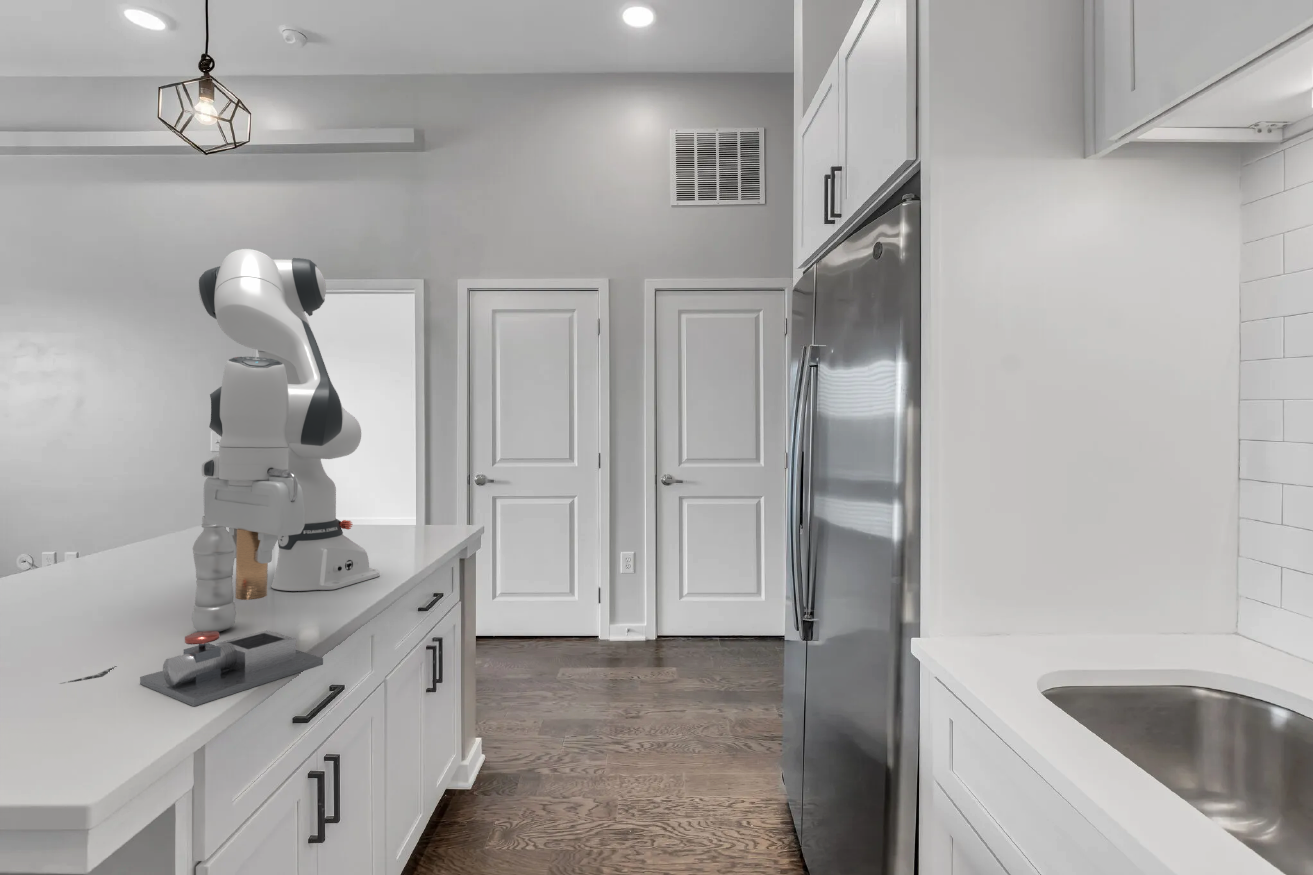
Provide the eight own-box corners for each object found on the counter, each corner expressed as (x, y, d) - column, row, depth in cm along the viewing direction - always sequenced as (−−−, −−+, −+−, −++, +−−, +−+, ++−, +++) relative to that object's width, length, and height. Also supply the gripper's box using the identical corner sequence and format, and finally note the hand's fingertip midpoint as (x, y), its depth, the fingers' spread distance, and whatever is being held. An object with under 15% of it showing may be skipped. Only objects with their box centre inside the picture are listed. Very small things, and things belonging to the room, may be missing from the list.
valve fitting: (268, 647, 110) (268, 605, 110) (323, 664, 103) (323, 619, 103) (140, 683, 95) (140, 635, 95) (193, 706, 88) (193, 653, 88)
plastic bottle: (230, 623, 123) (231, 512, 123) (241, 632, 118) (241, 516, 118) (188, 630, 118) (188, 515, 118) (196, 639, 114) (196, 519, 113)
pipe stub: (257, 591, 104) (258, 526, 104) (272, 595, 102) (274, 528, 102) (229, 597, 100) (231, 528, 100) (245, 601, 98) (246, 531, 98)
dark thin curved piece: (51, 691, 91) (25, 688, 93) (51, 696, 91) (26, 693, 93) (148, 659, 103) (124, 657, 105) (148, 664, 103) (124, 662, 105)
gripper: (317, 469, 98) (315, 565, 98) (238, 463, 109) (236, 550, 109) (274, 471, 93) (272, 572, 93) (195, 464, 103) (193, 555, 103)
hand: (252, 560), depth 101 cm, fingers closed on pipe stub, 4 cm apart
